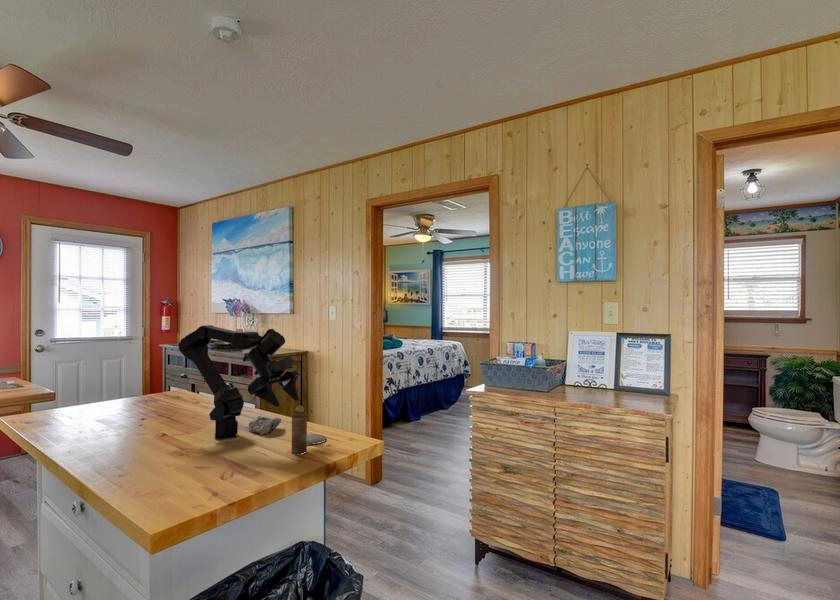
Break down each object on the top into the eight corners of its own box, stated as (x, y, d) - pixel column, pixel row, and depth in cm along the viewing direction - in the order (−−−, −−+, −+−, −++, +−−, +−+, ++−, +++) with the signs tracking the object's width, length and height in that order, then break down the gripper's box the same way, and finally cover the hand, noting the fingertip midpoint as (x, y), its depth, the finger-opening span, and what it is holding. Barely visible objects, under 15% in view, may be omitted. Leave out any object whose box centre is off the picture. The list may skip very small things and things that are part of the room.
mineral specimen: (263, 438, 150) (239, 431, 155) (287, 431, 159) (263, 424, 165) (265, 421, 150) (241, 414, 155) (288, 415, 159) (265, 409, 165)
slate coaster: (297, 446, 139) (297, 445, 139) (292, 438, 148) (292, 436, 148) (329, 442, 143) (329, 441, 143) (321, 434, 152) (321, 432, 152)
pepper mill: (292, 455, 131) (293, 407, 131) (290, 451, 135) (290, 404, 135) (308, 453, 133) (308, 406, 133) (305, 449, 137) (305, 403, 137)
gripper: (257, 351, 133) (285, 393, 129) (296, 346, 151) (321, 383, 147) (235, 373, 136) (261, 415, 133) (276, 366, 154) (300, 402, 150)
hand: (288, 403), depth 140 cm, fingers open, 9 cm apart
